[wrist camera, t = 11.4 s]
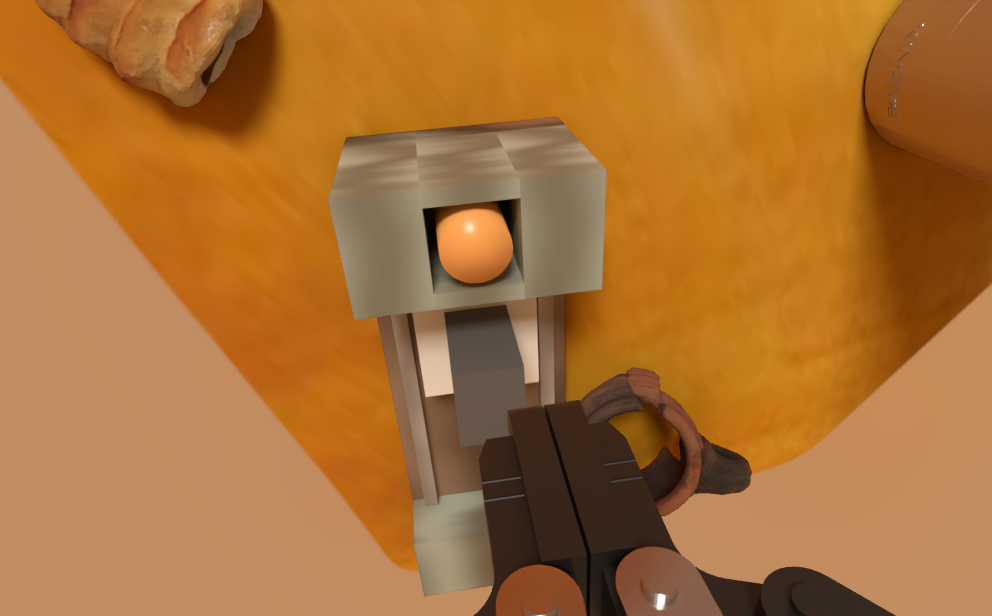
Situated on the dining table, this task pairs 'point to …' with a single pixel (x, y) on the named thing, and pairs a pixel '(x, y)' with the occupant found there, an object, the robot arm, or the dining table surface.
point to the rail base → (463, 291)
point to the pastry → (160, 39)
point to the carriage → (480, 362)
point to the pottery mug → (666, 474)
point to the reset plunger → (473, 241)
